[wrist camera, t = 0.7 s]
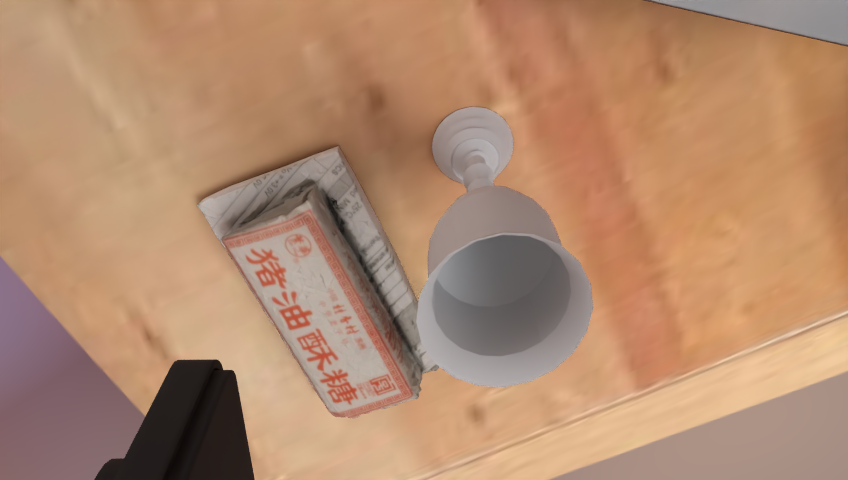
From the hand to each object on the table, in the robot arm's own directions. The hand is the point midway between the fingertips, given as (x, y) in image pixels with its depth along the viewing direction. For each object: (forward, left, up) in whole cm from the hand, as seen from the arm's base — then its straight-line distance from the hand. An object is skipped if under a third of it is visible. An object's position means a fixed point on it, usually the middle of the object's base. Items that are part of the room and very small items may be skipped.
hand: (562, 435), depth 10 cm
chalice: (+8, +1, -33) cm, 34 cm away
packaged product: (+18, -8, -33) cm, 38 cm away
